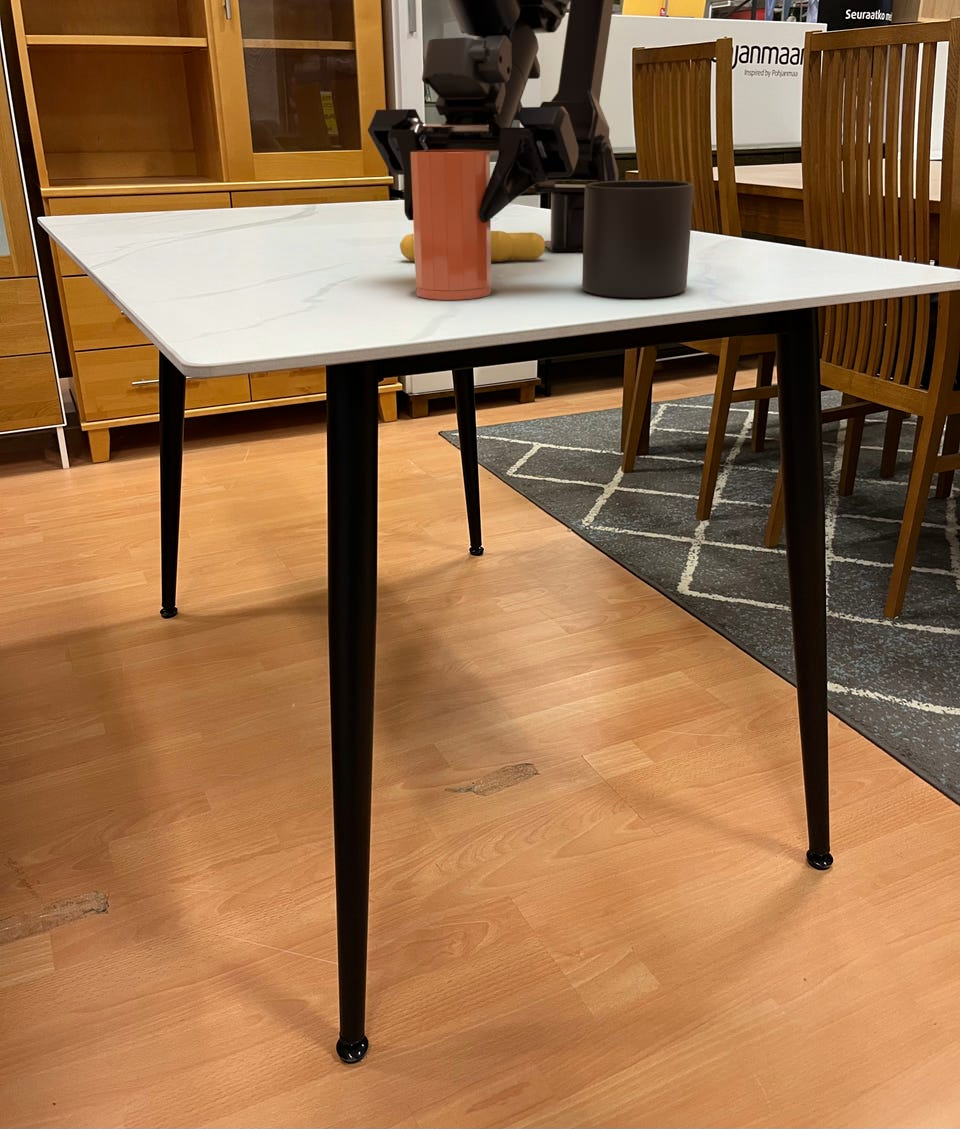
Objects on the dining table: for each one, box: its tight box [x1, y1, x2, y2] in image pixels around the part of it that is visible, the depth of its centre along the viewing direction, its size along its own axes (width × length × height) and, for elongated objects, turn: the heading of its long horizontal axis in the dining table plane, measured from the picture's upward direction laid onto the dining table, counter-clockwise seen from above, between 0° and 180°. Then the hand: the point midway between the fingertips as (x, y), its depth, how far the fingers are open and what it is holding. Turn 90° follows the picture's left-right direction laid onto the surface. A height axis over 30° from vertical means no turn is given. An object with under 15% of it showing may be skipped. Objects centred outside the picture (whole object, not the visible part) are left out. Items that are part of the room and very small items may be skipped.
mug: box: [581, 179, 695, 299], centre depth 87 cm, size 9×12×9 cm
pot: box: [410, 149, 492, 301], centre depth 85 cm, size 7×7×12 cm
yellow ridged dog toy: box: [399, 230, 546, 263], centre depth 105 cm, size 16×4×3 cm, turn 86°
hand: (444, 218), depth 84 cm, fingers closed on pot, 7 cm apart
